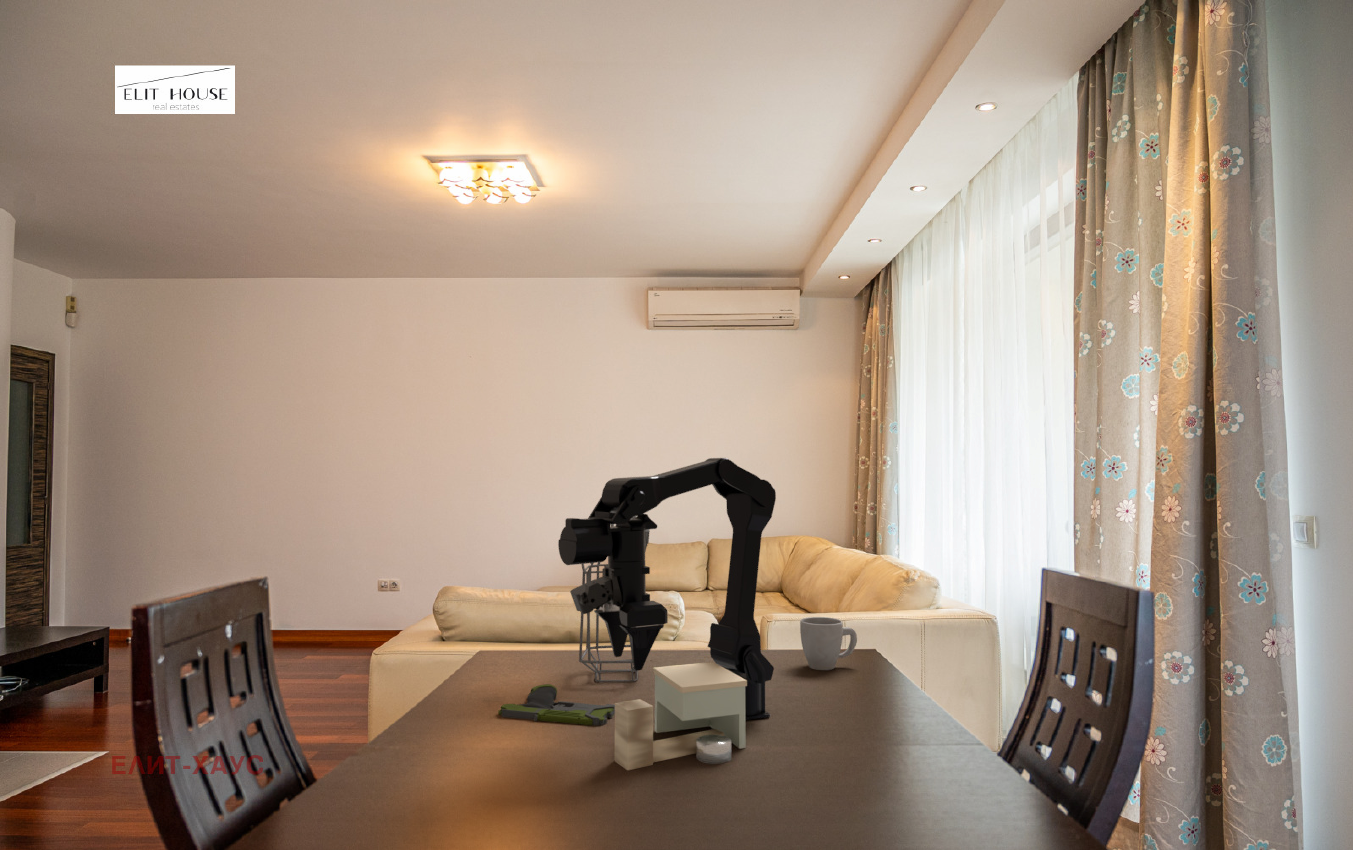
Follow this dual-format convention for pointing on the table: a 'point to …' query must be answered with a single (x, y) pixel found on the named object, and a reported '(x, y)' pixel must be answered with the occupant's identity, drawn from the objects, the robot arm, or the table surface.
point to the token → (713, 749)
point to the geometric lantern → (588, 648)
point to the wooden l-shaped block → (647, 737)
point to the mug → (824, 641)
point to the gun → (557, 709)
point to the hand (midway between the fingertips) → (627, 663)
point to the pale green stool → (700, 699)
